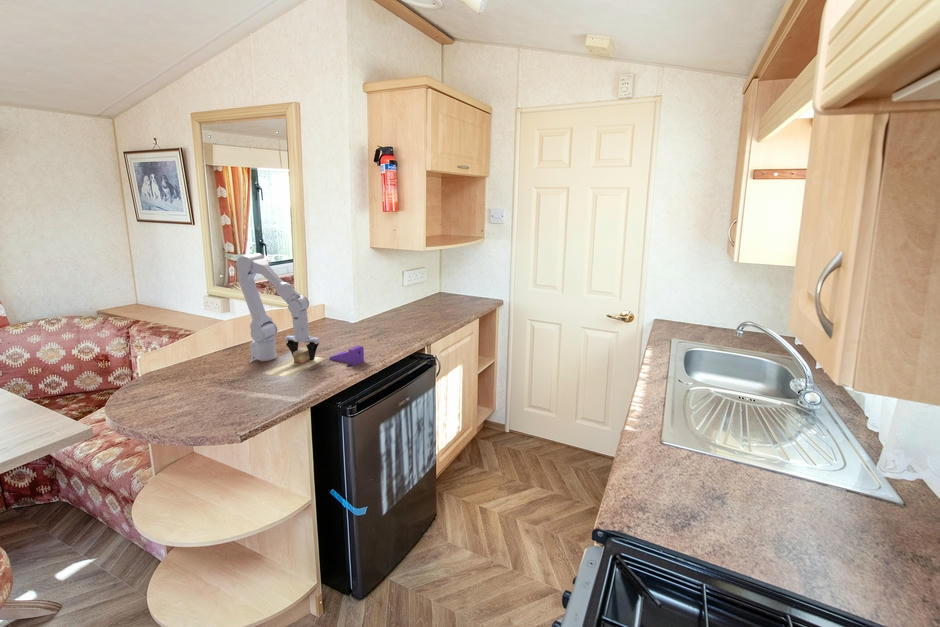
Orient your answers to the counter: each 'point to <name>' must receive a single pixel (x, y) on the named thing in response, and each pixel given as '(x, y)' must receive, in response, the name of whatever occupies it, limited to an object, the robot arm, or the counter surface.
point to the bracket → (350, 356)
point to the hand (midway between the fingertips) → (304, 359)
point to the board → (292, 367)
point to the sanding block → (301, 355)
